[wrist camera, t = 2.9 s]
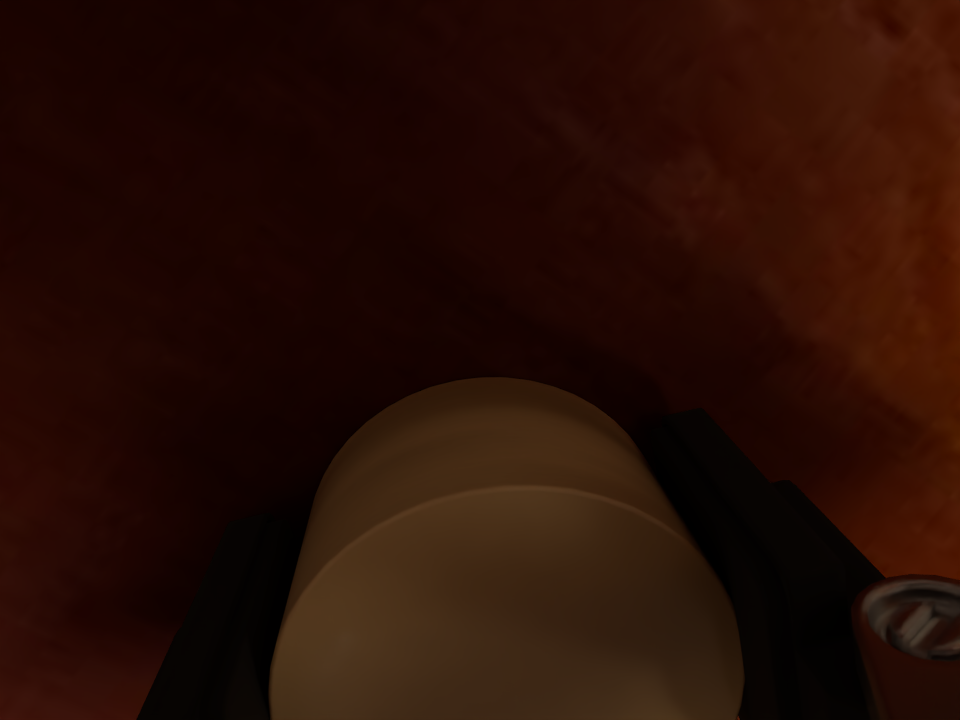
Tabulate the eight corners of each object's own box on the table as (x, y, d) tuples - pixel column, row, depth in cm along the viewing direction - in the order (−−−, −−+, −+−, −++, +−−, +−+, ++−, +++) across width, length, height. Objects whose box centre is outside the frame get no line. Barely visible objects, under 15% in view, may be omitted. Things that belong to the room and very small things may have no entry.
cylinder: (231, 532, 11) (159, 696, 8) (512, 298, 10) (550, 383, 7) (467, 740, 13) (483, 943, 10) (728, 550, 12) (835, 707, 9)
